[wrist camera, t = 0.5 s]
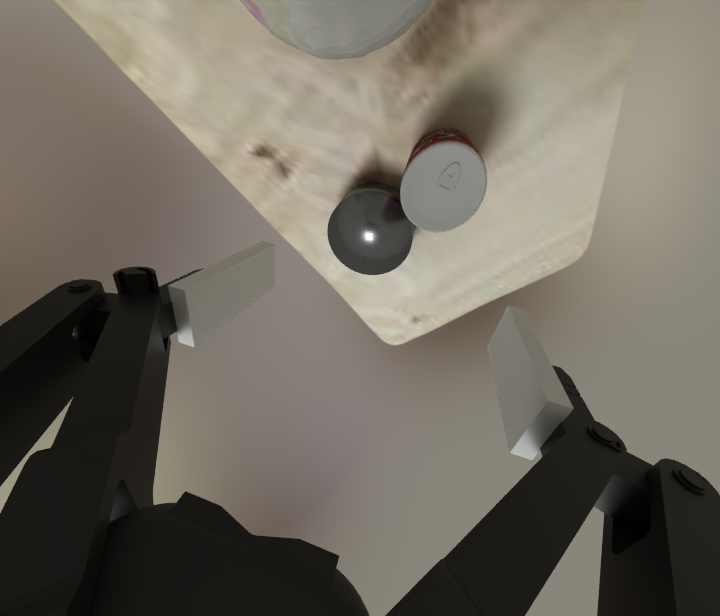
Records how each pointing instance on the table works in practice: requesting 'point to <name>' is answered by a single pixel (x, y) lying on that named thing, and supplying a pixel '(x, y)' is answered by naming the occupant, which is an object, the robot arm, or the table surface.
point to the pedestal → (371, 229)
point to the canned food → (443, 181)
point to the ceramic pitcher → (337, 23)
